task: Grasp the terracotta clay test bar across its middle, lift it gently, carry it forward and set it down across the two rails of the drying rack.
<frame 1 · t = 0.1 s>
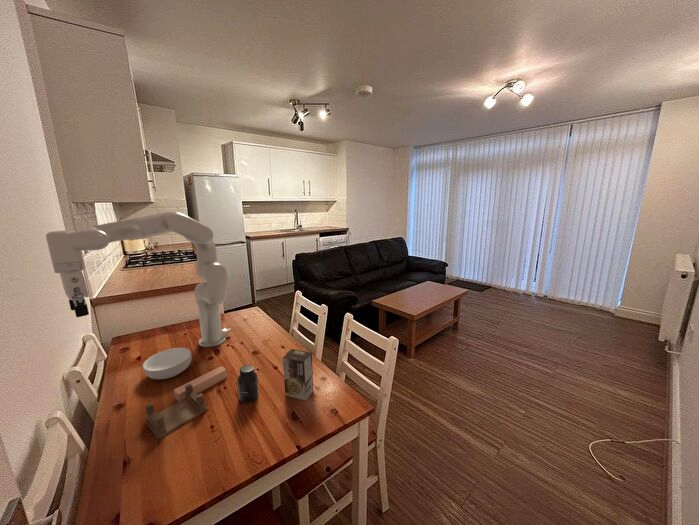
hand: (79, 312, 98), 31 cm above the table, fingers open, 9 cm apart
clay strip: (202, 388, 106), on the table
cereal bowl: (170, 373, 115), on the table
coffee box: (299, 393, 103), on the table
rack: (177, 415, 92), on the table
supplement bottle: (249, 397, 101), on the table
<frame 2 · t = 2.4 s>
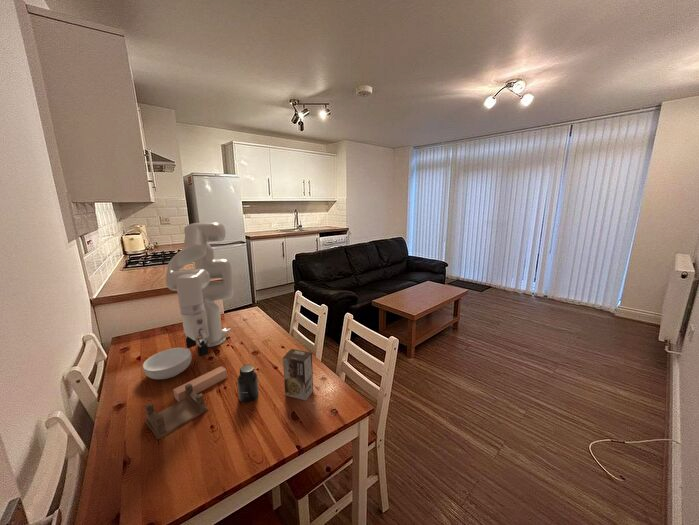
hand: (197, 350, 102), 16 cm above the table, fingers open, 9 cm apart
nothing on the table moved.
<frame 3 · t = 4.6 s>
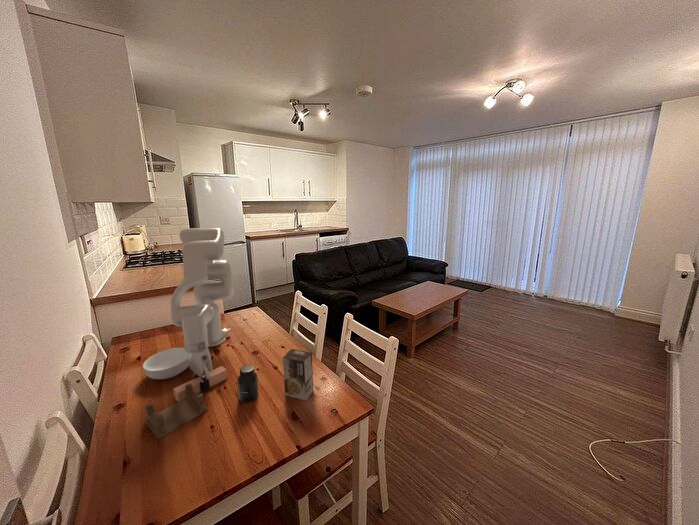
hand: (202, 386, 106), 0 cm above the table, fingers closed on clay strip, 4 cm apart
clay strip: (202, 387, 106), on the table, touching gripper
everything else where it was.
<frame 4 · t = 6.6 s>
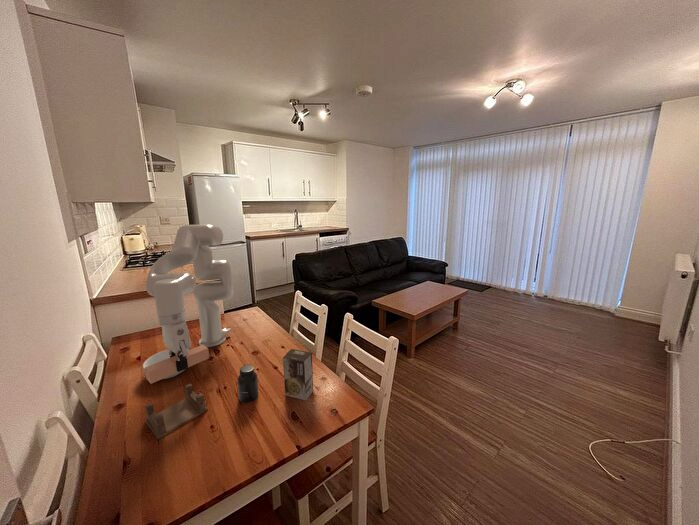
hand: (179, 366, 92), 16 cm above the table, fingers closed on clay strip, 4 cm apart
clay strip: (179, 367, 92), point 15 cm above the table, touching gripper
everything else where it was.
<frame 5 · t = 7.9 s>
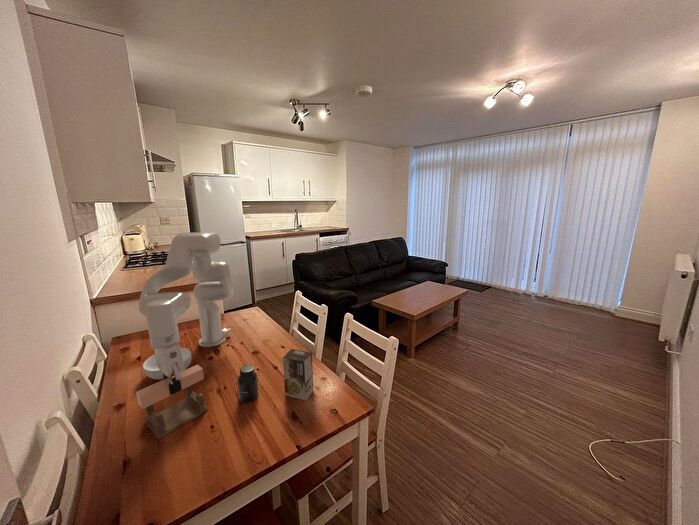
hand: (172, 389, 89), 11 cm above the table, fingers closed on clay strip, 4 cm apart
clay strip: (173, 390, 89), point 10 cm above the table, touching gripper
everything else where it was.
when the fingers open (5 cm above the table, at t = 9.1 s): clay strip drops 1 cm, resting on rack.
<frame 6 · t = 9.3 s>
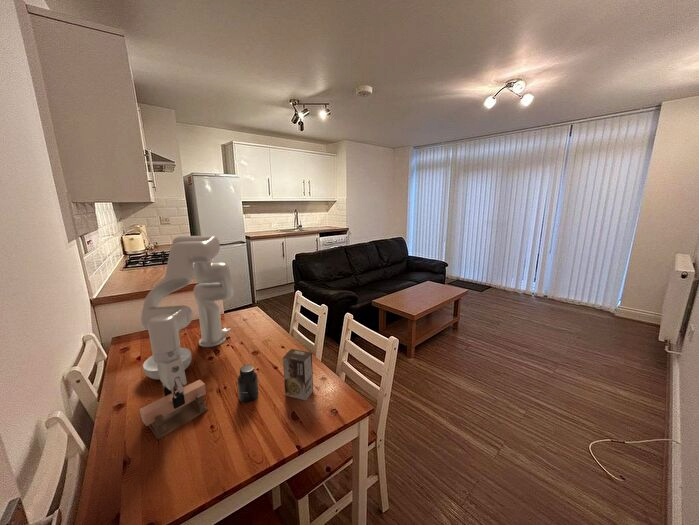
hand: (175, 400, 91), 6 cm above the table, fingers open, 6 cm apart
clay strip: (176, 405, 91), point 4 cm above the table, touching rack
everything else where it was.
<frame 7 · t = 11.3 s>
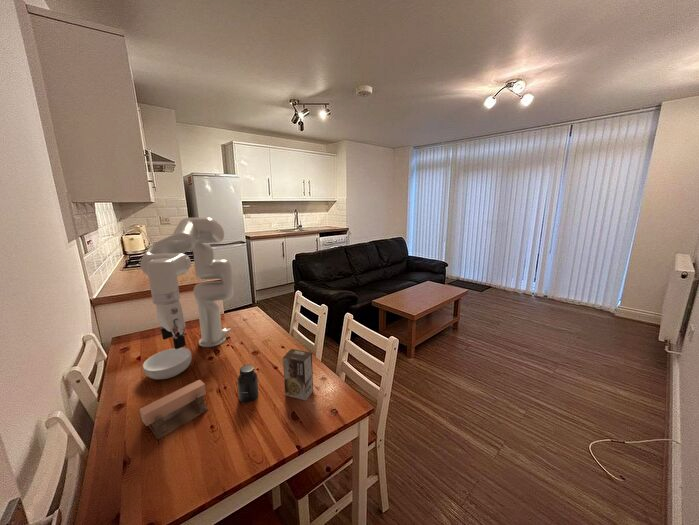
hand: (174, 342, 94), 23 cm above the table, fingers open, 9 cm apart
nothing on the table moved.
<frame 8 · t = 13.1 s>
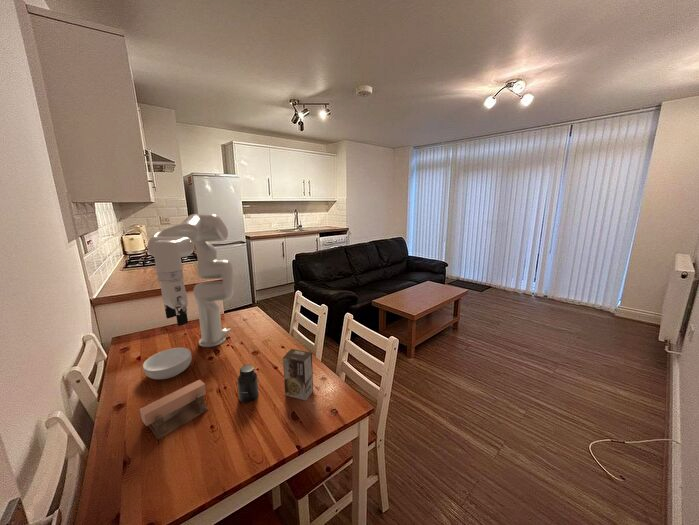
hand: (177, 320, 99), 28 cm above the table, fingers open, 9 cm apart
nothing on the table moved.
at the end: clay strip 0.1 cm off-centre on the rack, point 3.8 cm above the rack's base; clay strip tilted 0°; the gripper is holding nothing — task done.
